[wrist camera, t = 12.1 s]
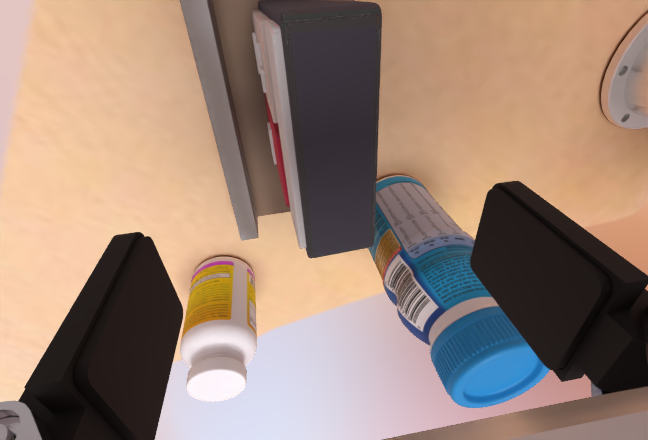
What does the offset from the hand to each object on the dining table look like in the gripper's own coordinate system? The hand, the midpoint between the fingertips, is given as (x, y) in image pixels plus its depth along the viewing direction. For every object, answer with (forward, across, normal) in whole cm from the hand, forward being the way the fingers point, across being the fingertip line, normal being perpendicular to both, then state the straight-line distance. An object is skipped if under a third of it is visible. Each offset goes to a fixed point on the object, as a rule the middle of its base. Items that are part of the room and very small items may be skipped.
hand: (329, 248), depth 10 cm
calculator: (+21, 0, 0) cm, 21 cm away
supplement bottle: (+22, +9, +20) cm, 31 cm away
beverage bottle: (+22, -10, +14) cm, 28 cm away
